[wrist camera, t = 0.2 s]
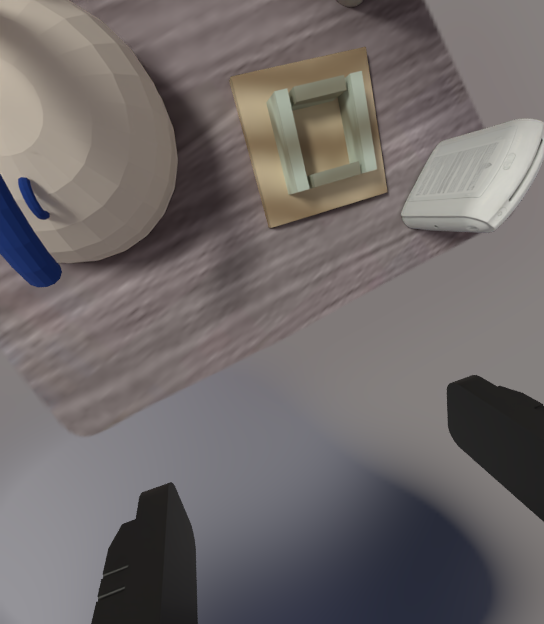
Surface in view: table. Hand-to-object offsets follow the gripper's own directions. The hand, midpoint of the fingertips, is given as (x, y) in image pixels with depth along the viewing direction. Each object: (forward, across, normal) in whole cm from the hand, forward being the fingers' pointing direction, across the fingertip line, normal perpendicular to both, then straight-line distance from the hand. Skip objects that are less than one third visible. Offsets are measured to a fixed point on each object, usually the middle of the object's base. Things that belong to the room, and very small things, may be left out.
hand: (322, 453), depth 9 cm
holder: (+29, -13, -10) cm, 34 cm away
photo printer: (+30, -26, -3) cm, 40 cm away
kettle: (+29, +11, -14) cm, 34 cm away
